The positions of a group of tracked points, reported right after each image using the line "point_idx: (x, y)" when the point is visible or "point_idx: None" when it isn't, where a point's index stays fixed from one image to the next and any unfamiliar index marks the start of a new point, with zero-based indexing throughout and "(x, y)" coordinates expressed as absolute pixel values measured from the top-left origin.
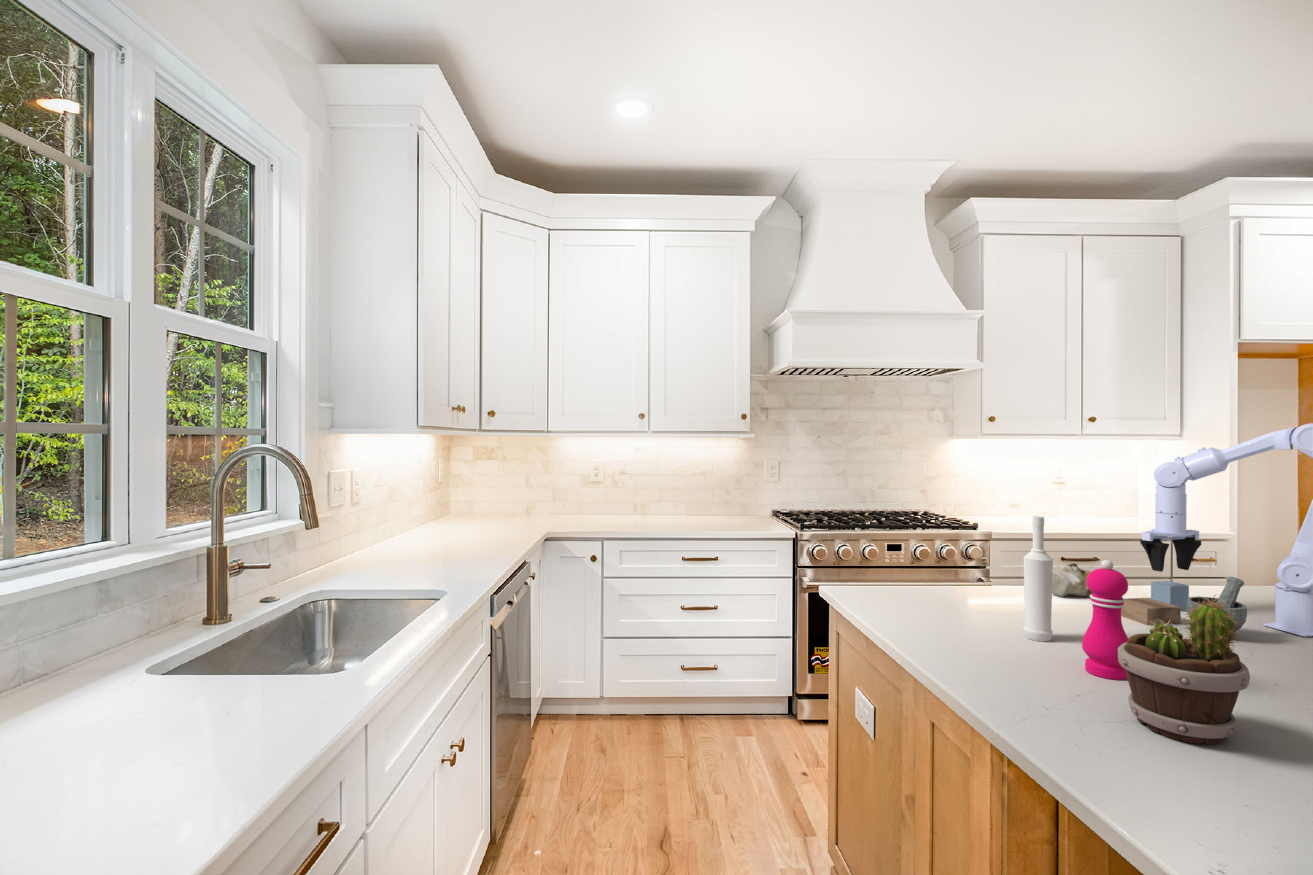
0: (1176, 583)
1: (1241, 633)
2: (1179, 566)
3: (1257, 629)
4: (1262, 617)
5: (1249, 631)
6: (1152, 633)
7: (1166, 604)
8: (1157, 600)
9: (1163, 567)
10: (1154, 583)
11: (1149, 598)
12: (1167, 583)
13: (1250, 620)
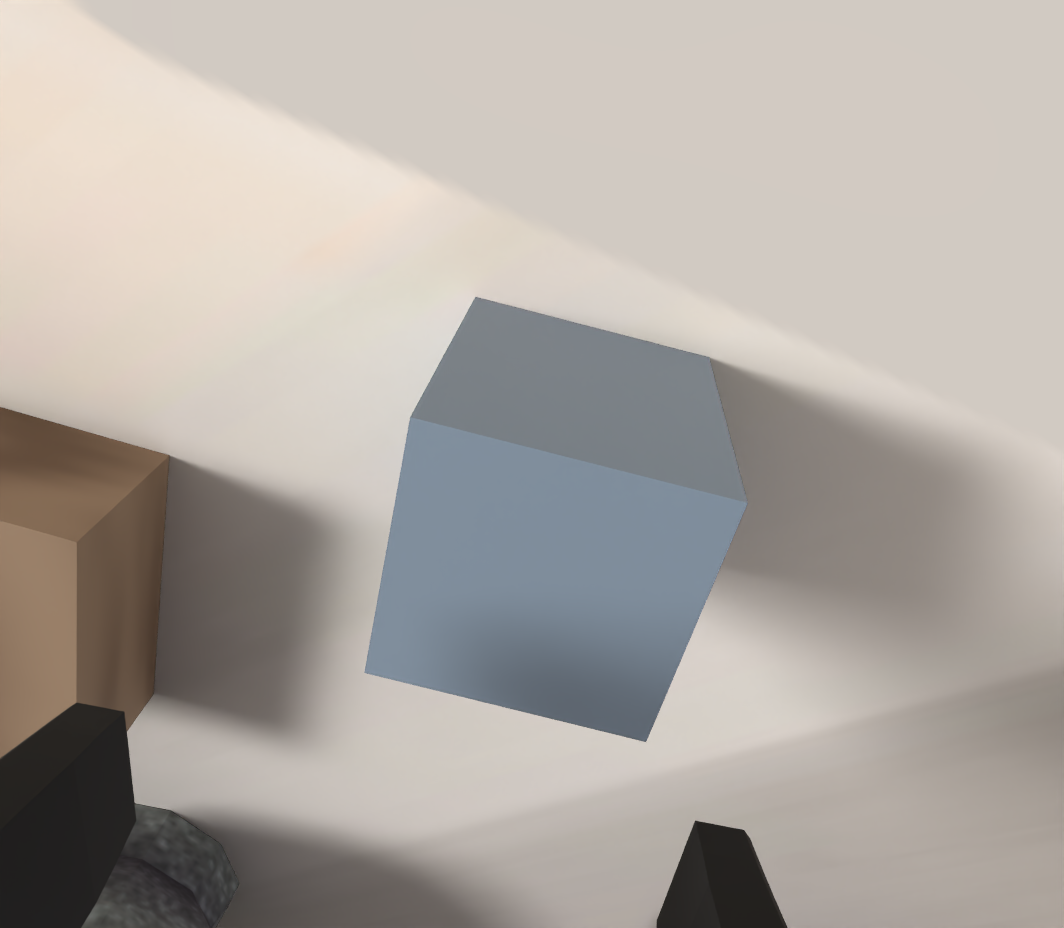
0: (644, 625)
1: (341, 905)
2: (692, 877)
3: (535, 917)
4: (952, 851)
5: (436, 911)
6: None
7: (31, 723)
8: (69, 630)
9: (87, 904)
10: (407, 461)
11: (52, 561)
12: (518, 578)
13: (759, 843)
